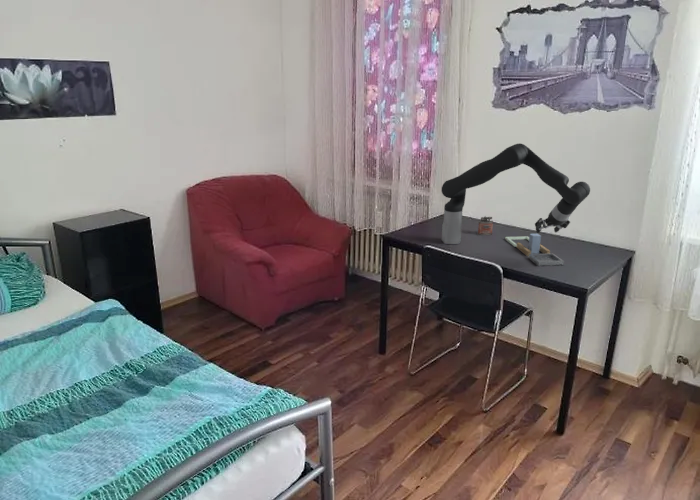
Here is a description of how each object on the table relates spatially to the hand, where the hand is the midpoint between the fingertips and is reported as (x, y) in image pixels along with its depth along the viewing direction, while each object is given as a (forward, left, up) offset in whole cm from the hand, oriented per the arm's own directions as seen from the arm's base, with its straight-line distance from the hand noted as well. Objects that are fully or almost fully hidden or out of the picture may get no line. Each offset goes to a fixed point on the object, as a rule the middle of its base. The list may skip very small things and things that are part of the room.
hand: (546, 231), depth 240 cm
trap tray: (0, -3, -14) cm, 14 cm away
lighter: (-14, +43, -14) cm, 47 cm away
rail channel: (0, +12, -14) cm, 19 cm away
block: (0, +11, -14) cm, 18 cm away
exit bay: (0, +26, -14) cm, 30 cm away
